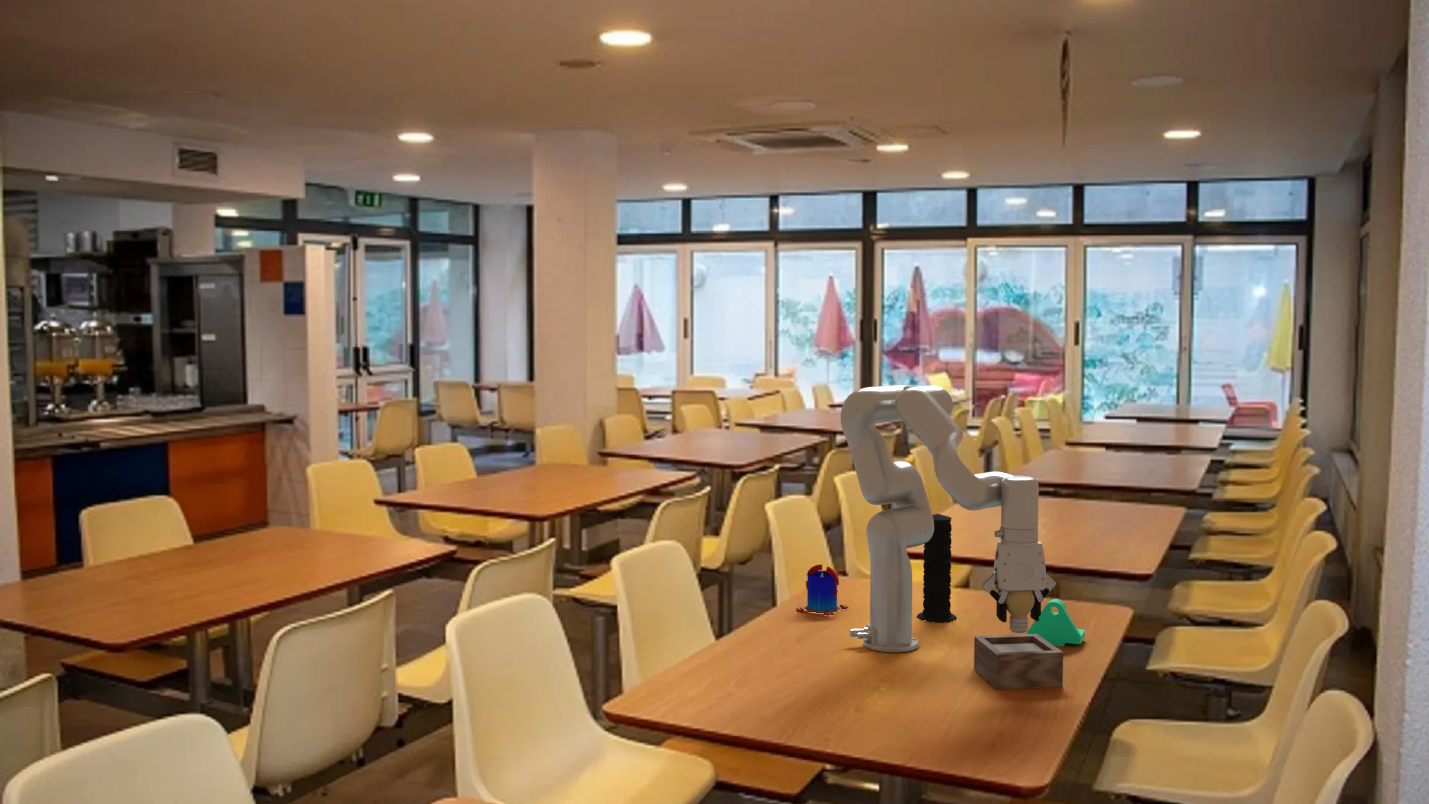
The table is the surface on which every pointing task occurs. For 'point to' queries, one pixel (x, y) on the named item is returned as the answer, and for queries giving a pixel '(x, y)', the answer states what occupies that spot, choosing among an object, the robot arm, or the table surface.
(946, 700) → the table surface
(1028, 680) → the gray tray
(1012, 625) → the light bulb
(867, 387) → the robot arm
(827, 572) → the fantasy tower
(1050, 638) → the camera mount
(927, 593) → the handle grip
